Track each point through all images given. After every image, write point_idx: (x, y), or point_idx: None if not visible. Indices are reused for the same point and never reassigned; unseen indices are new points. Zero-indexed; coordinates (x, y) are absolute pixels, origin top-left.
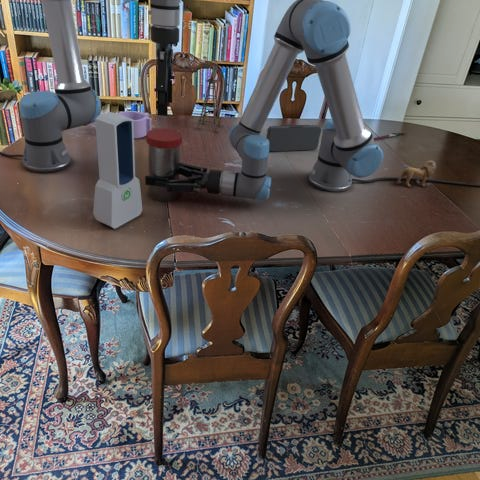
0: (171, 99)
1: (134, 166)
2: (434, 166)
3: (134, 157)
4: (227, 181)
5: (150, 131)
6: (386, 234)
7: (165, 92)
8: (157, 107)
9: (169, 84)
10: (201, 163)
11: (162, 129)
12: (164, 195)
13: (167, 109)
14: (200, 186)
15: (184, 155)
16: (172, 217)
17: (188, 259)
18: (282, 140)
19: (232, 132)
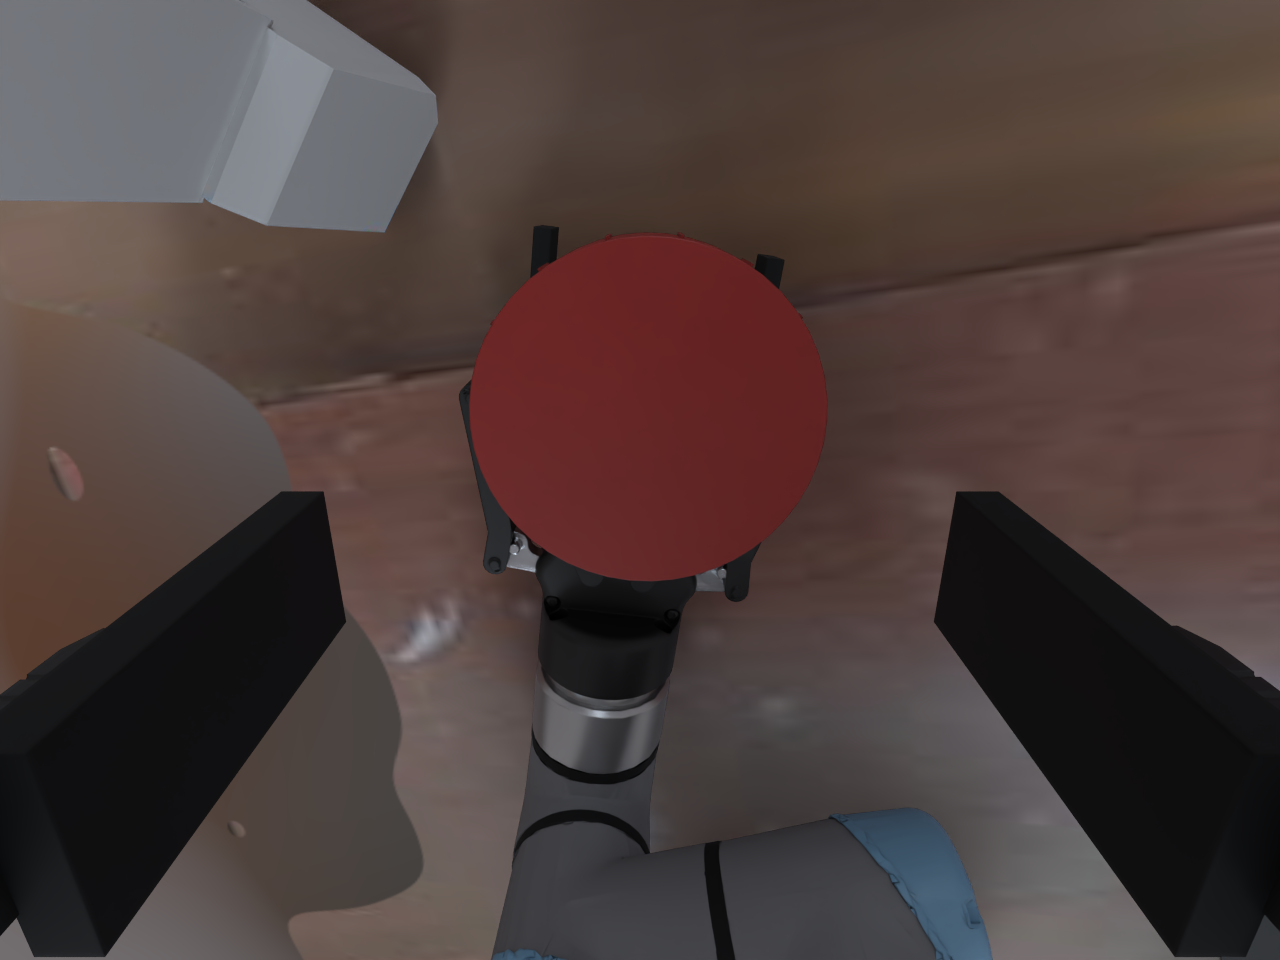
0: (959, 647)
1: (125, 199)
2: None
3: (64, 200)
4: (542, 716)
5: (708, 270)
6: None
7: (25, 912)
8: (215, 545)
9: (1122, 818)
10: (1079, 497)
11: (792, 389)
12: None
13: (298, 672)
14: (517, 568)
15: (1214, 388)
16: (402, 393)
17: (77, 493)
18: (1268, 933)
19: (891, 892)
